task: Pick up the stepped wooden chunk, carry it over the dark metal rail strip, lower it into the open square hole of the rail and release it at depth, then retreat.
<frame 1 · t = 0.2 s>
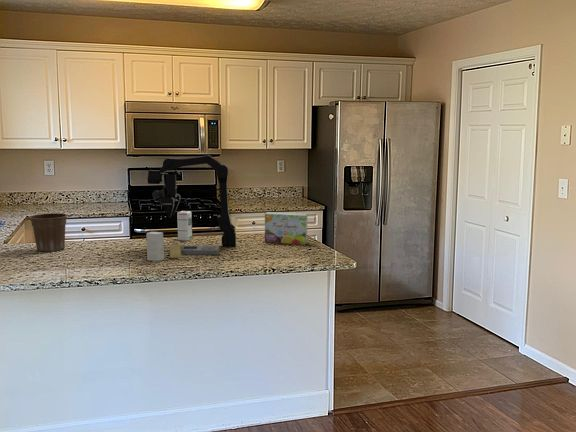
hand: (170, 216, 275), 15 cm above the worktop, fingers open, 9 cm apart
skincare box: (155, 260, 248), on the worktop
snack box: (285, 243, 288), on the worktop
rail: (194, 252, 264), on the worktop
stepped wooden chunk: (176, 256, 254), on the worktop
syrup box: (185, 239, 294), on the worktop
plant pot: (50, 250, 267), on the worktop
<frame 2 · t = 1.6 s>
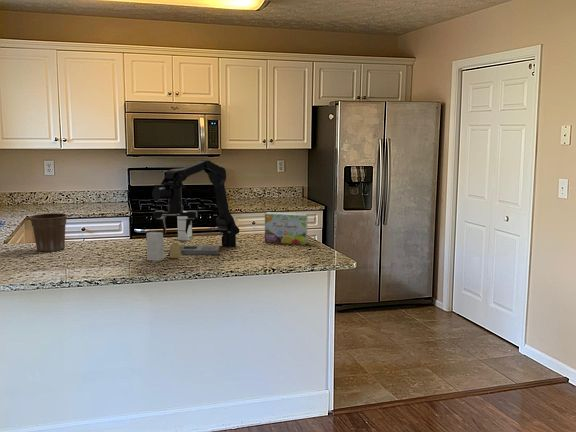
hand: (175, 233, 252), 11 cm above the worktop, fingers open, 9 cm apart
nothing on the worktop moved.
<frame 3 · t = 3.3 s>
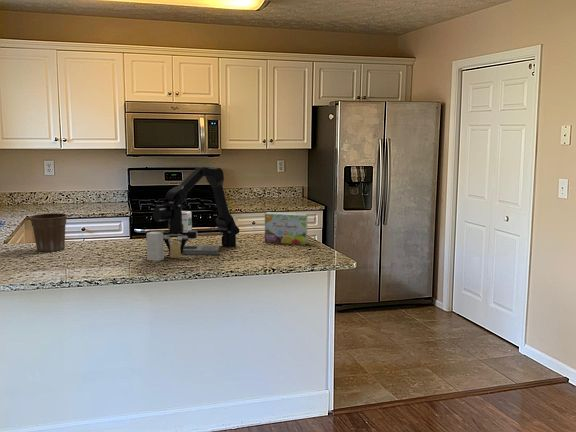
hand: (176, 253, 254), 2 cm above the worktop, fingers closed on stepped wooden chunk, 4 cm apart
stepped wooden chunk: (176, 256, 254), on the worktop, touching gripper
everything else where it was.
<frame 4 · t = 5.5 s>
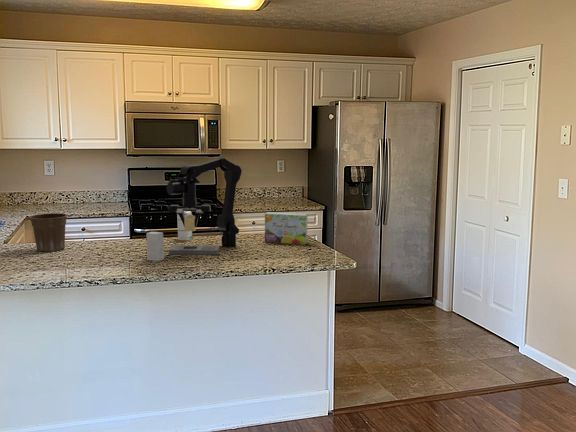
hand: (190, 227, 262), 12 cm above the worktop, fingers closed on stepped wooden chunk, 4 cm apart
stepped wooden chunk: (190, 230, 262), point 10 cm above the worktop, touching gripper
everything else where it was.
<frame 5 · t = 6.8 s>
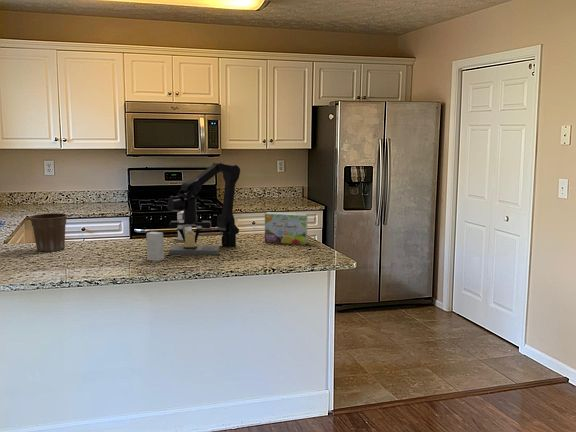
hand: (190, 243, 263), 4 cm above the worktop, fingers closed on stepped wooden chunk, 4 cm apart
stepped wooden chunk: (190, 246, 263), point 3 cm above the worktop, touching gripper
everything else where it was.
when the fingers open (3 cm above the worktop, at t = 7.9 s): stepped wooden chunk drops 2 cm, resting in rail.
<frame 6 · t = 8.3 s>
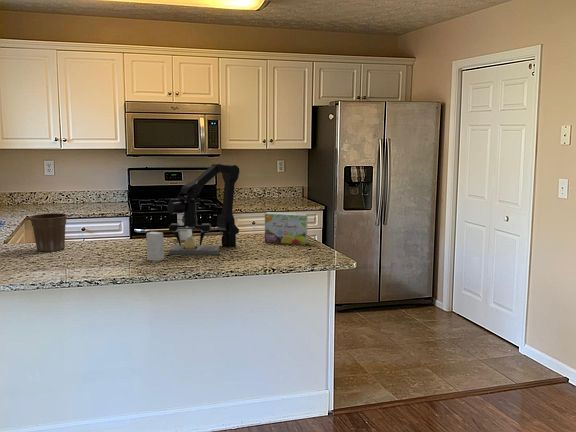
hand: (190, 245, 263), 3 cm above the worktop, fingers open, 9 cm apart
stepped wooden chunk: (190, 252, 264), resting in rail
everything else where it was.
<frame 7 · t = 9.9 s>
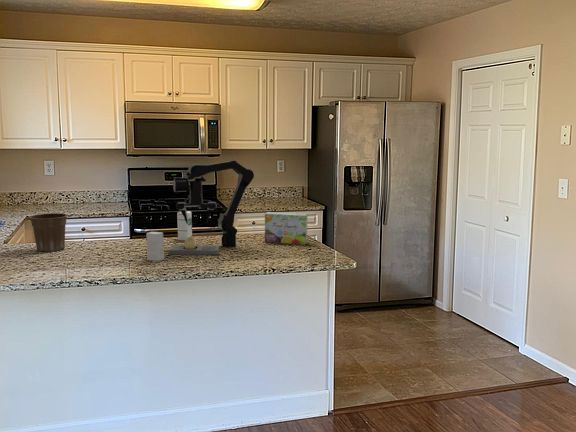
hand: (196, 223, 272), 12 cm above the worktop, fingers open, 9 cm apart
nothing on the worktop moved.
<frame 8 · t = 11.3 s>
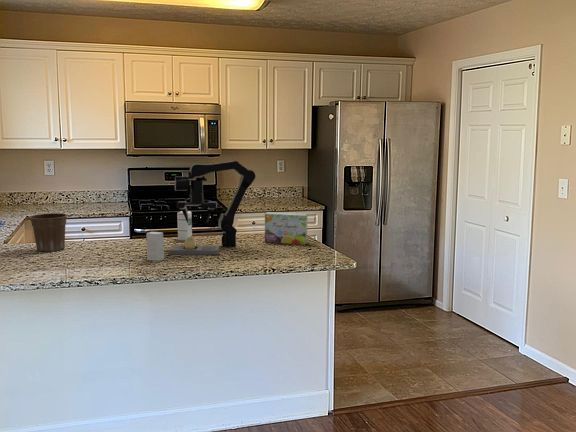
hand: (197, 222, 273), 12 cm above the worktop, fingers open, 9 cm apart
nothing on the worktop moved.
at the end: stepped wooden chunk 0.0 cm from the target spot on the rail, point 0.0 cm above the rail's base; stepped wooden chunk tilted 0°; the gripper is holding nothing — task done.
